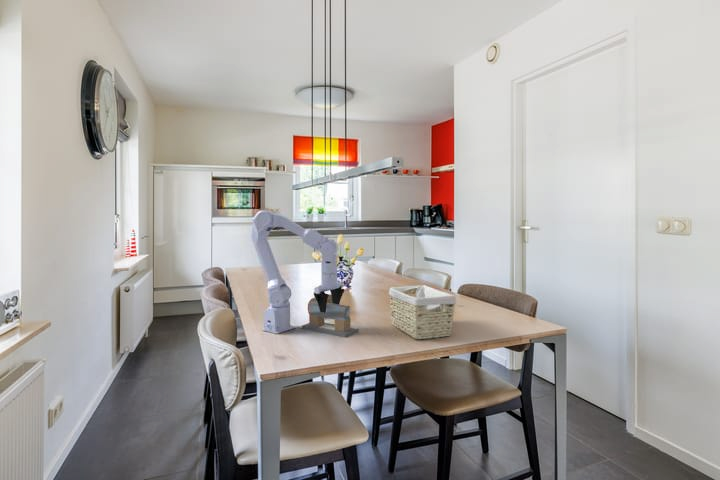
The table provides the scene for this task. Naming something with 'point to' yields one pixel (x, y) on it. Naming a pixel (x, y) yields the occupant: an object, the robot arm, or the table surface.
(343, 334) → the gate base
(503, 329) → the table surface
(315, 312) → the beam
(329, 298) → the tin
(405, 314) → the storage basket
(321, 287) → the robot arm
